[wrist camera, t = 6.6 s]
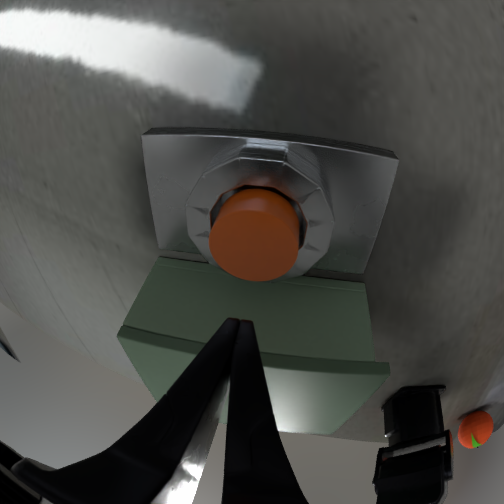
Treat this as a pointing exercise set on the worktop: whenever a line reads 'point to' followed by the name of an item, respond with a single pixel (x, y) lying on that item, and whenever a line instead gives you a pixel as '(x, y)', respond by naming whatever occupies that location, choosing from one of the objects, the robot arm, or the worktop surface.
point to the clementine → (475, 429)
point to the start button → (255, 235)
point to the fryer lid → (268, 380)
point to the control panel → (272, 179)
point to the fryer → (256, 310)
